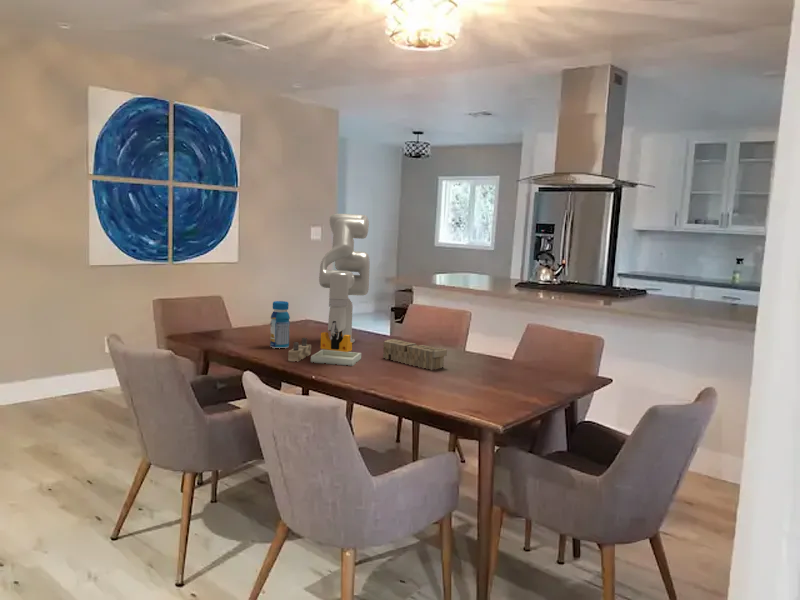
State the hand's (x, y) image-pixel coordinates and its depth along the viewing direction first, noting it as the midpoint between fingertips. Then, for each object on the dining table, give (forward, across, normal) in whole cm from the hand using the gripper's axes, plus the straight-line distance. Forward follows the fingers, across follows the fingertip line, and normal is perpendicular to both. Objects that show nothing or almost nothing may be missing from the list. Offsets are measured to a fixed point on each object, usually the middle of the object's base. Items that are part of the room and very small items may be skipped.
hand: (336, 347), depth 257 cm
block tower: (+6, -8, +30) cm, 31 cm away
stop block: (+5, 0, -16) cm, 16 cm away
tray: (+5, 0, 0) cm, 5 cm away
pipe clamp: (+1, 0, 0) cm, 1 cm away
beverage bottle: (+5, -16, -30) cm, 35 cm away
